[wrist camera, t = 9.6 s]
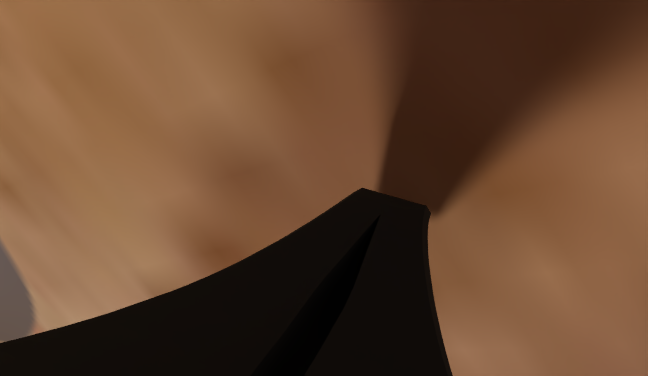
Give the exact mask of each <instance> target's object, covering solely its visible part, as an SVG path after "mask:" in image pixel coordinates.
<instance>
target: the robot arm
mask: <svg viewBox="0 0 648 376" xmlns="http://www.w3.org/2000/svg"><path fill="white" fill-rule="evenodd" d="M430 215H431V213H430V211H429V209H428V208H427V206H425V205H421V204H418V203H414V202H410V201H407V200H403V199H400V198H396V197H393V196H389V195H386V194H382V193H379V192H375V191H372V190H368V189H365V188H361V189H359V190H357V191H355V192H354V193H352V194H351V195H349V196H348V197H346V198H345V199H343V200H342V201H340V202H339V203H337V204H336V205H335V206H333V207H332V208H330V209H329V210H327V211H325V212H324V213H322V214H321V215H319V216H318V217H316V218H315V219H313V220H312V221H310V222H308V223H307V224H305V225H303V226H302V227H300V228H299V229H297V230H295V231H294V232H292V233H290V234H289V235H287V236H285V237H284V238H282V239H280V240H279V241H277V242H275V243H273V244H271V245H269V246H267V247H266V248H264V249H262V250H260V251H258V252H256V253H254V254H253V255H251V256H249V257H247V258H245V259H243V260H241V261H239V262H237V263H235V264H233V265H231V266H229V267H227V268H225V269H223V270H221V271H219V272H216V273H214V274H212V275H210V276H208V277H205V278H203V279H200V280H198V281H196V282H193V283H191V284H189V285H186V286H184V287H181V288H179V289H176V290H174V291H171V292H168V293H165V294H162V295H159V296H157V297H154V298H151V299H148V300H145V301H142V302H140V303H137V304H134V305H131V306H128V307H125V308H122V309H120V310H117V311H114V312H111V313H108V314H105V315H101V316H98V317H95V318H91V319H88V320H85V321H81V322H78V323H74V324H71V325H68V326H64V327H61V328H57V329H53V330H49V331H46V332H42V333H38V334H34V335H31V336H27V337H23V338H19V339H16V340H11V341H7V342H3V343H0V376H453V375H452V372H451V369H450V365H449V362H448V358H447V354H446V351H445V347H444V343H443V339H442V335H441V330H440V326H439V321H438V317H437V312H436V307H435V302H434V296H433V290H432V283H431V275H430V268H429V258H428V223H429V218H430Z"/></svg>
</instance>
